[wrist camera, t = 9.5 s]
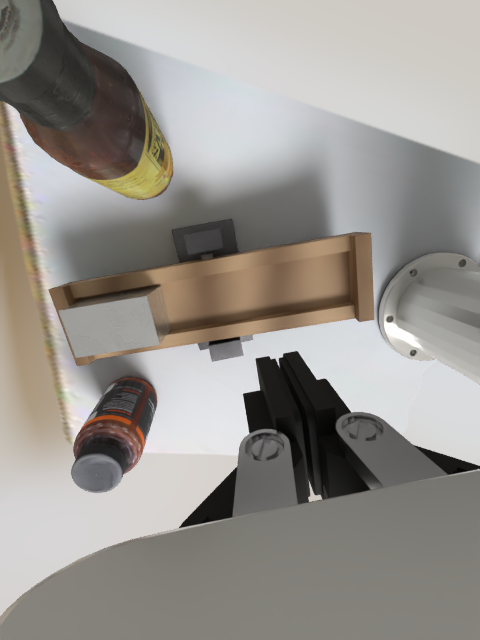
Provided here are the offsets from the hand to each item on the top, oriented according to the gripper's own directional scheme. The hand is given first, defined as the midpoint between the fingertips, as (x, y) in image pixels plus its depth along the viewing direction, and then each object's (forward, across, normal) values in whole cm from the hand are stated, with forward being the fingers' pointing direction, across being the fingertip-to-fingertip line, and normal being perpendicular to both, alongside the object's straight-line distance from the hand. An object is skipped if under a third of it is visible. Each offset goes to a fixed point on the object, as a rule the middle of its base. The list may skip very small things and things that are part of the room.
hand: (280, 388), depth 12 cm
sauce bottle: (+21, +7, -13) cm, 26 cm away
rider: (+16, +10, 0) cm, 19 cm away
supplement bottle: (+21, +14, +10) cm, 28 cm away
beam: (+19, +2, -1) cm, 19 cm away
